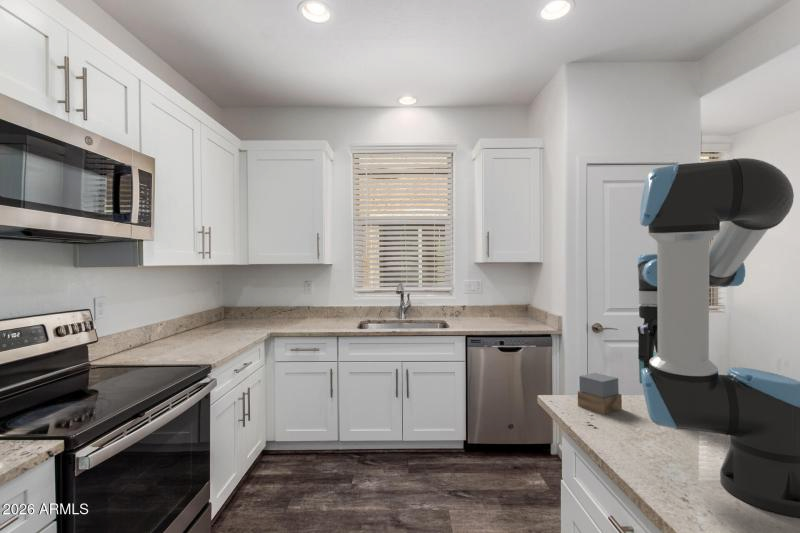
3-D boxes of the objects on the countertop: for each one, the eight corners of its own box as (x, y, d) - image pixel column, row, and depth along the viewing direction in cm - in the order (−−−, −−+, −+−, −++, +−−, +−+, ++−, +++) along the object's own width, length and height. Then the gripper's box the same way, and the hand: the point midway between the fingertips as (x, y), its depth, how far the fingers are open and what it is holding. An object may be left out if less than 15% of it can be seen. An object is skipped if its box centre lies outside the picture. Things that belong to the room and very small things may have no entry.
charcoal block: (603, 398, 120) (602, 381, 120) (579, 391, 127) (579, 376, 127) (618, 394, 124) (618, 378, 124) (595, 387, 131) (594, 372, 131)
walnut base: (604, 415, 119) (603, 399, 119) (577, 406, 127) (577, 391, 127) (621, 410, 124) (621, 394, 124) (595, 402, 131) (595, 387, 132)
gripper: (649, 307, 111) (651, 389, 110) (683, 304, 120) (685, 381, 119) (622, 305, 117) (624, 383, 116) (657, 303, 127) (658, 376, 126)
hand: (655, 382), depth 118 cm, fingers closed on teal block, 6 cm apart
